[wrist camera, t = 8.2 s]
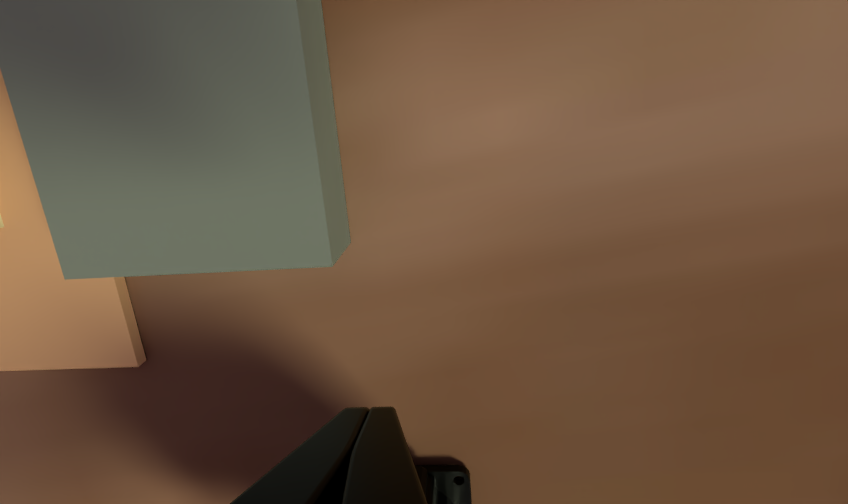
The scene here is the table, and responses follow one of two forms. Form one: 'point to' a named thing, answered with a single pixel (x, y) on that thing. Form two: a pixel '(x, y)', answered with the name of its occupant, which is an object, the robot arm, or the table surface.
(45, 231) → the mat
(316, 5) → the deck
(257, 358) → the table surface
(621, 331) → the table surface
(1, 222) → the birch block
